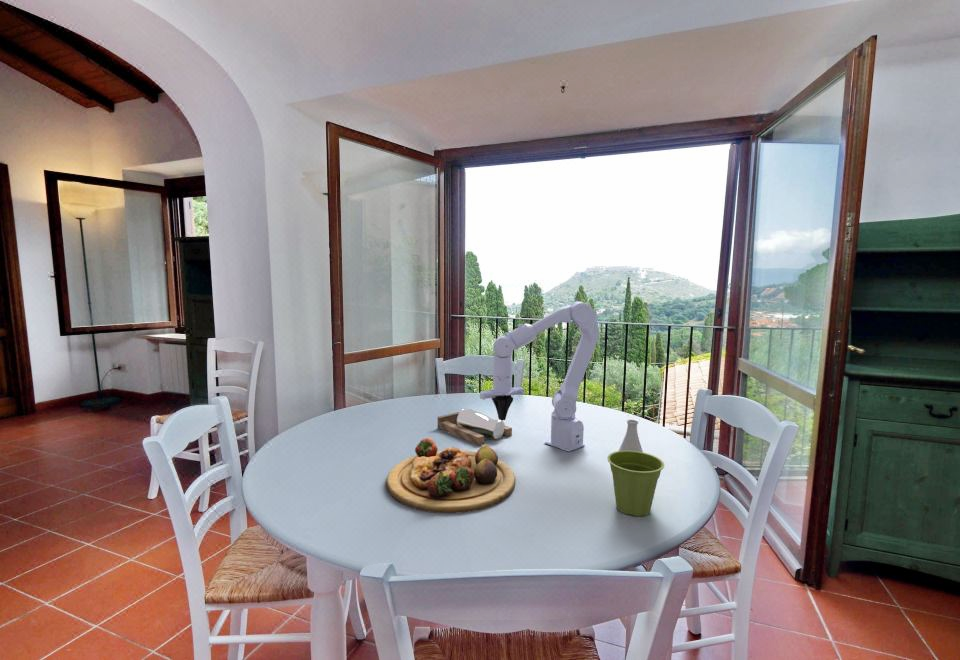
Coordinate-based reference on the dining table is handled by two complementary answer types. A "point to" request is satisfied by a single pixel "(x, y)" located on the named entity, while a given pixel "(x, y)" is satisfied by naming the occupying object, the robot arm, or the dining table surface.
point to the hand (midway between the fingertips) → (501, 419)
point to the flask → (631, 438)
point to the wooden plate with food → (450, 479)
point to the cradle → (450, 425)
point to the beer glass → (480, 423)
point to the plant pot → (634, 480)
